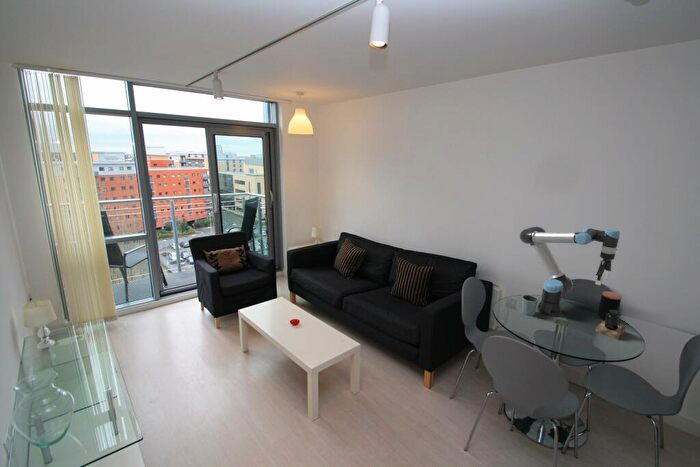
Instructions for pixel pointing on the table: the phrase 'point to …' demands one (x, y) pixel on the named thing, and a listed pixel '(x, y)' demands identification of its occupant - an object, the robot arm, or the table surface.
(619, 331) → the dock
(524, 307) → the grey green cup
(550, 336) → the table surface
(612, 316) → the supplement bottle
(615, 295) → the coffee jar
